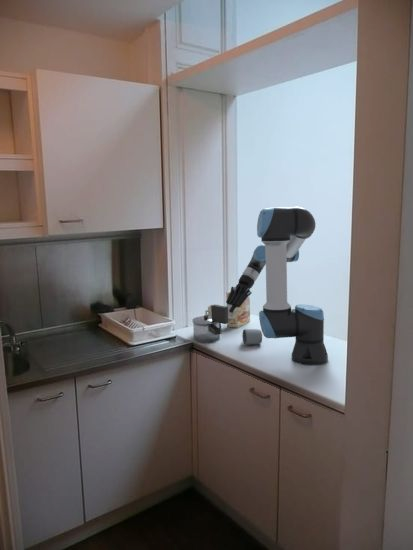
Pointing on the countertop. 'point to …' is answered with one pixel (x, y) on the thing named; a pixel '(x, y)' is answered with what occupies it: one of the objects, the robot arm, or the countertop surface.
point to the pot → (206, 333)
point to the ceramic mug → (252, 336)
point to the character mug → (211, 313)
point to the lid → (213, 316)
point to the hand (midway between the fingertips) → (225, 317)
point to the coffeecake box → (239, 314)
